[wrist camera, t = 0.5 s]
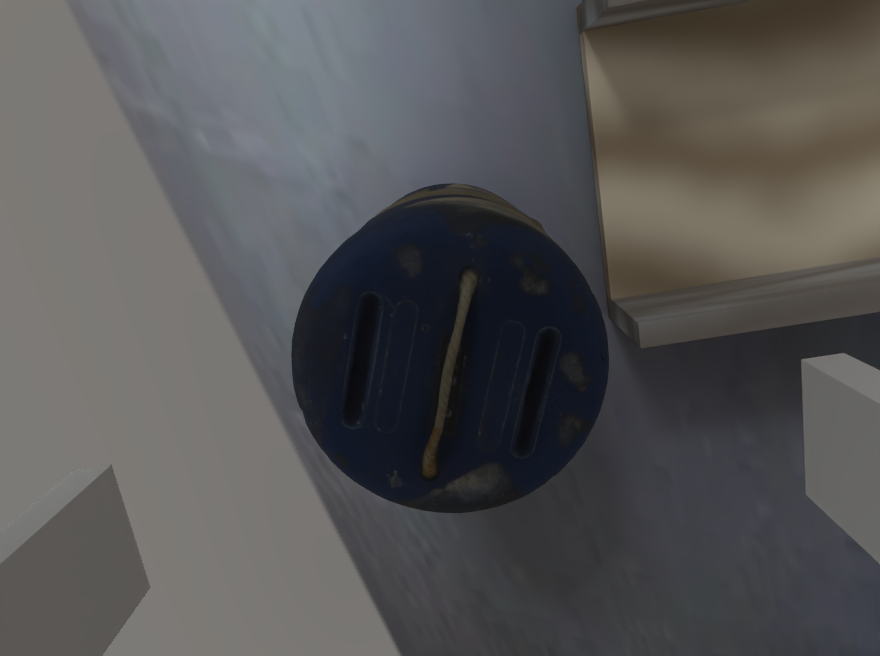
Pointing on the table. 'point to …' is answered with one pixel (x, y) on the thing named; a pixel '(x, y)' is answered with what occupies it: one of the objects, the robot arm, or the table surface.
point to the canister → (450, 353)
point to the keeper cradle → (734, 162)
